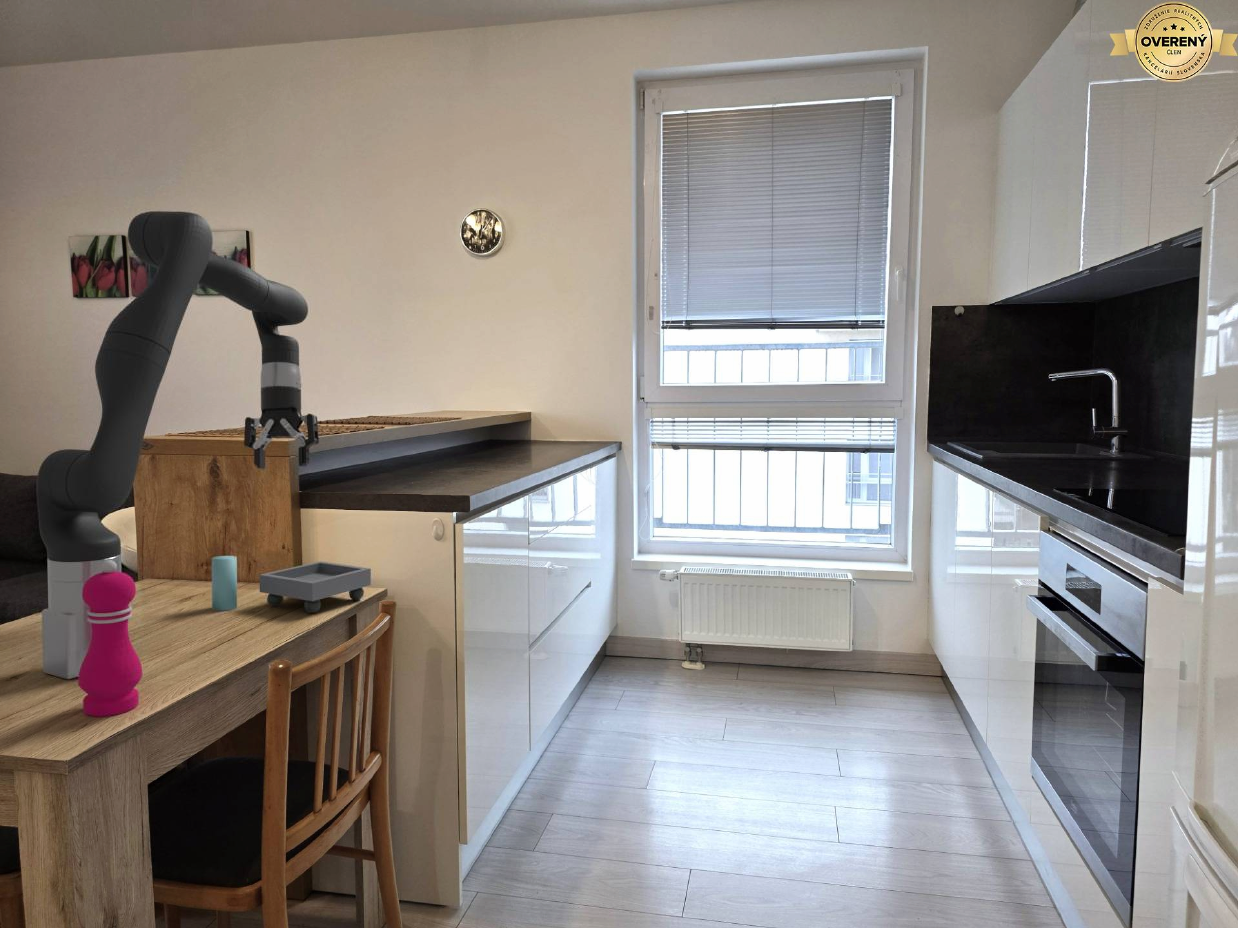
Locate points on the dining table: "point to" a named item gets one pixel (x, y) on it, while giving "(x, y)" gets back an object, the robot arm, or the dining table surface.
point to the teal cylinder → (224, 583)
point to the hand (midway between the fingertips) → (282, 467)
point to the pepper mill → (109, 645)
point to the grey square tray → (314, 583)
